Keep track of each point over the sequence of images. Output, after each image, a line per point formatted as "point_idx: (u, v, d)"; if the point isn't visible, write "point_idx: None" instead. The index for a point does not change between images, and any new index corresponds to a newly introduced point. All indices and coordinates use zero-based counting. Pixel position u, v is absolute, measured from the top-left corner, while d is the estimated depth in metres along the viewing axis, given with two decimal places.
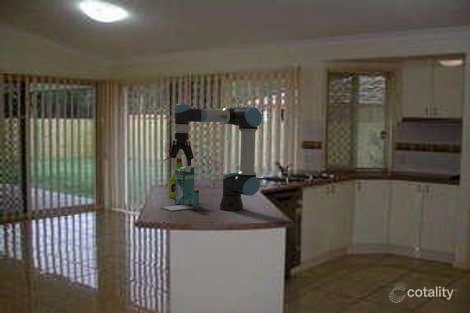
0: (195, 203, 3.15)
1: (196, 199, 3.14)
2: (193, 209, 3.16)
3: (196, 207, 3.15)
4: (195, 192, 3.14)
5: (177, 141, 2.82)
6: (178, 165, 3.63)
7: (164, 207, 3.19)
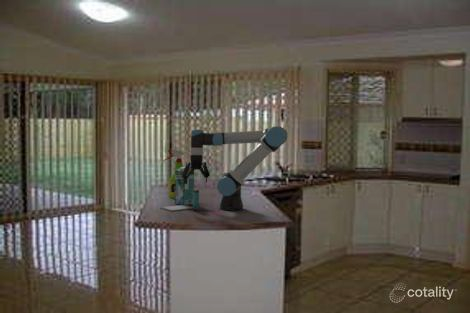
0: (195, 203, 3.15)
1: (196, 199, 3.14)
2: (193, 209, 3.16)
3: (196, 207, 3.15)
4: (195, 192, 3.14)
5: None
6: (178, 165, 3.63)
7: (164, 207, 3.19)
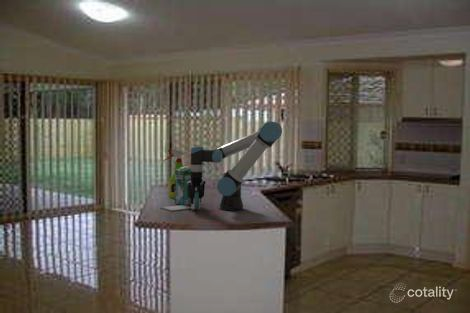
0: (195, 203, 3.15)
1: (196, 199, 3.14)
2: (193, 209, 3.16)
3: (196, 207, 3.15)
4: (195, 192, 3.14)
5: None
6: (178, 165, 3.63)
7: (164, 207, 3.19)
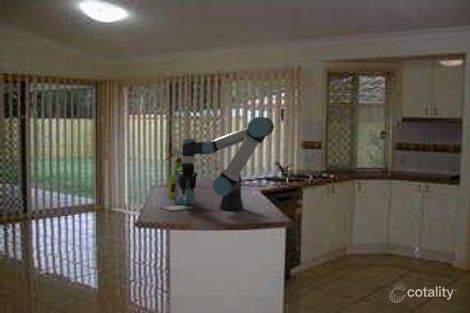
0: (186, 198, 3.19)
1: (187, 194, 3.19)
2: None
3: (187, 202, 3.20)
4: (186, 187, 3.19)
5: None
6: (178, 165, 3.63)
7: (164, 207, 3.19)
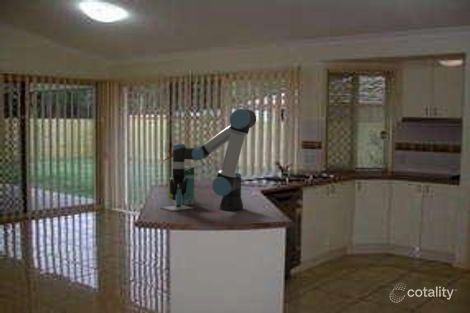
0: (177, 199, 3.22)
1: (178, 195, 3.21)
2: (176, 205, 3.23)
3: (178, 203, 3.22)
4: (177, 189, 3.21)
5: None
6: None
7: (164, 207, 3.19)
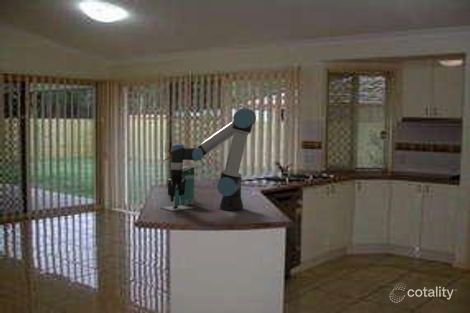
0: (175, 200, 3.17)
1: (176, 196, 3.17)
2: None
3: (176, 204, 3.17)
4: (175, 189, 3.16)
5: None
6: None
7: (164, 207, 3.19)
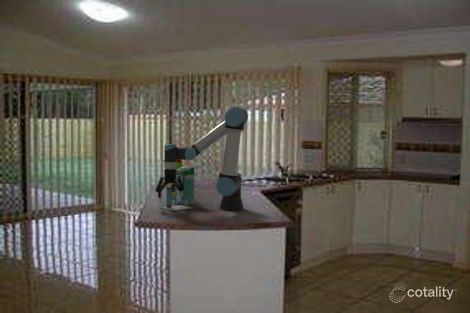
0: (168, 200, 3.19)
1: (169, 196, 3.19)
2: None
3: (169, 204, 3.19)
4: (168, 189, 3.18)
5: None
6: (178, 165, 3.63)
7: (164, 207, 3.19)
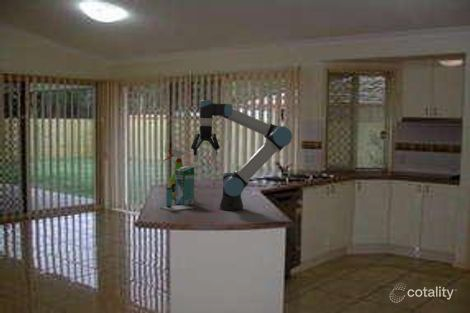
0: (168, 200, 3.19)
1: (169, 196, 3.19)
2: None
3: (169, 204, 3.19)
4: (168, 189, 3.18)
5: None
6: (178, 165, 3.63)
7: (164, 207, 3.19)
